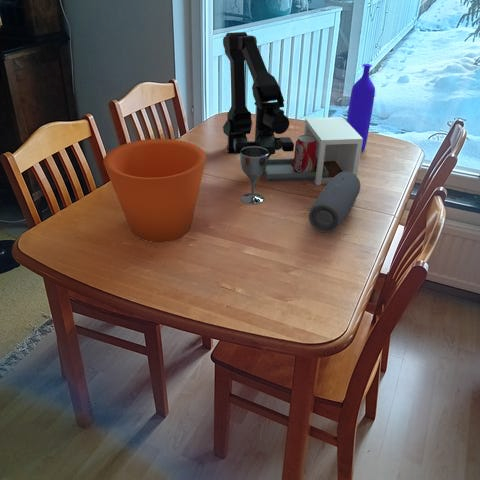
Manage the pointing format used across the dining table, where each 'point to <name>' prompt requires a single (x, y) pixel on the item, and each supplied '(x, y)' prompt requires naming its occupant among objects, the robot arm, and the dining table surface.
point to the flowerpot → (157, 185)
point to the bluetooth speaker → (334, 202)
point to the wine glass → (253, 170)
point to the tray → (288, 171)
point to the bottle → (361, 105)
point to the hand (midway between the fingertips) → (262, 169)
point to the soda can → (305, 154)
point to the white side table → (334, 144)
